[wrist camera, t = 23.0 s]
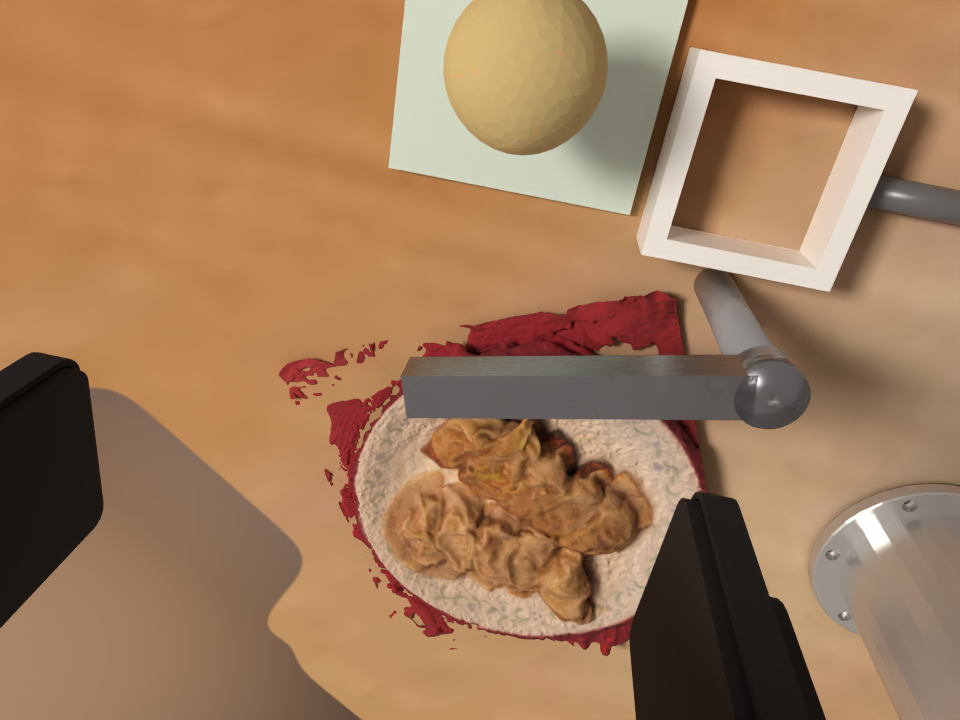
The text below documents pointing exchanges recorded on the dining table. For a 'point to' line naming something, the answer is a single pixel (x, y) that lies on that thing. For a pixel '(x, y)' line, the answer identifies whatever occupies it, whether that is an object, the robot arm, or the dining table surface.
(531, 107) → the light bulb
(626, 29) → the mat
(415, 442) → the plate with food
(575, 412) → the silver metal bar
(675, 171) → the white handled box
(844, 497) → the dining table surface
